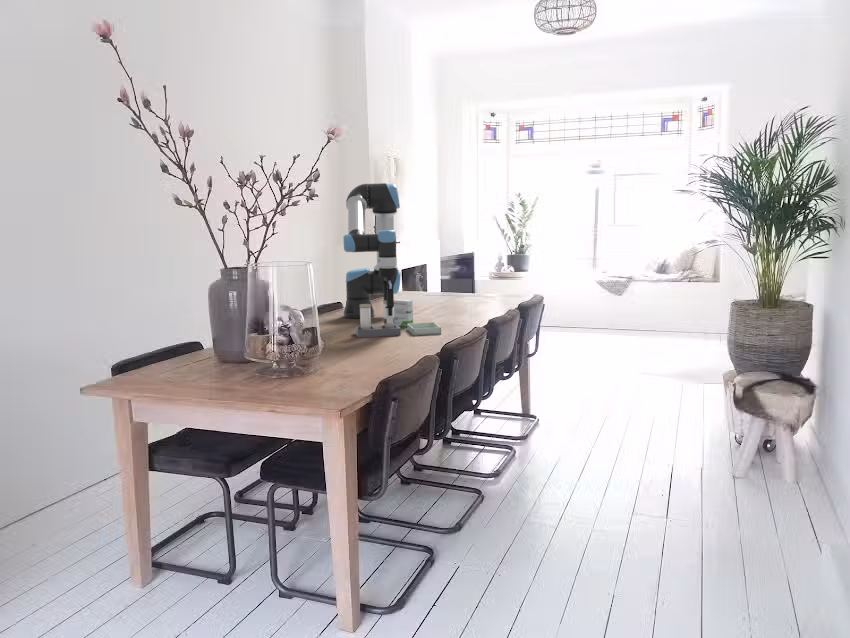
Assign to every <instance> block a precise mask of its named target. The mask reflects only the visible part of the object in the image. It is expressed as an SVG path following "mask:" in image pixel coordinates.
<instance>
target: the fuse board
mask: <svg viewBox="0 0 850 638" xmlns="http://www.w3.org/2000/svg"><path fill="white" fill-rule="evenodd" d="M394 327H395V328H384V324H380V325H379V324H378V325H376V324H375V325H371V329H361V325H358V326H354V332H355V335H356V337H357V338H374V337H375V338H377V337H378V338H379V337H393V336H394V337H396V336H397V337H398V336H401V332H402V331H401V326H398V325H397V324H395V325H394Z"/></svg>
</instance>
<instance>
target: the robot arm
mask: <svg viewBox="0 0 850 638" xmlns="http://www.w3.org/2000/svg"><path fill="white" fill-rule="evenodd" d="M345 206H346V209H347V212H348V215H347V216H348V217H347V218H348V221H347V223H348V224H347V225H348V226H347V229H348V230H347V233H348V234H344V235H343V250H344V252H345V253H365V252H366V253H367V252H370V253H372V252H373V253H376V265H375V266H374V267H373V270H371V269H370V268H368V267H366V268H365V267H364V268H356V269H352V270H349V271H347V272H346V274H345V283H346V292H345V293H346V303H345V307H344V309H343V317H344V318H346V319H347V318H348V319H360V304H371V307H370V309H371V318H372V317H374V316H375V310H374V307H373V304H372V300H371V295H373V296H374V295H383V300H387V307H385V308H386V312H387V323H393V307H394V300H395V297H394V295H396V294H398V293H399V291H400V287H401V276H402V275H401V272H402V271H401V270H400V269H399V268H398V266H397V265H398V264H397V263H398V259H397V233H396V231H395V219H394V217H395V215H396V214H397V212H398V209H400V207H401V206H400V197H399V191H398V186H397V185H396V184H395V183H387V182H386V183H385V182H384V183H383V182H381V183H362V184H359V185H357V186H356V187H354V188H353V189H352V190H351V191H350V192H349V194H348V195H347V198H346V200H345ZM366 209H368V210H369V209H370V210H371V209H372V211H371V212H372V214H373V215H374V216H375V232H376V233H368V234H366Z"/></svg>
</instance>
